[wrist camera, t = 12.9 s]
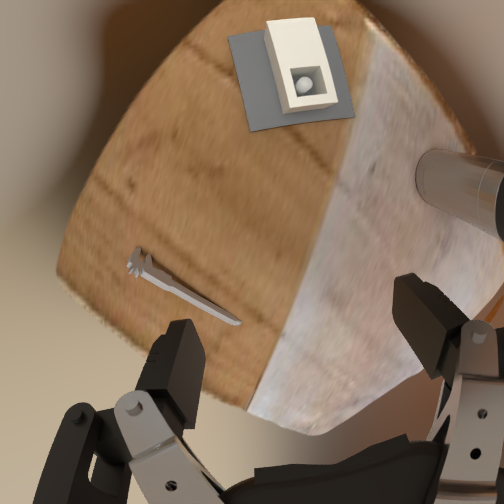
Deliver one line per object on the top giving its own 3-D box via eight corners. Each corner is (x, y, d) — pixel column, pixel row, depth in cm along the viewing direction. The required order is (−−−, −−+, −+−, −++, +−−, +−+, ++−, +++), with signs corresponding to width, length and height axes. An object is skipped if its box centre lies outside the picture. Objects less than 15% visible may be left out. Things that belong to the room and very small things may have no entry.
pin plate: (328, 28, 27) (342, 11, 21) (351, 117, 32) (370, 114, 26) (228, 39, 28) (224, 21, 22) (250, 132, 33) (250, 129, 27)
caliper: (136, 249, 39) (120, 267, 34) (139, 244, 39) (123, 261, 33) (238, 324, 45) (237, 349, 39) (242, 320, 44) (242, 345, 38)
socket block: (304, 34, 26) (313, 17, 21) (323, 108, 31) (338, 102, 25) (263, 39, 27) (266, 21, 21) (283, 113, 31) (290, 107, 25)
